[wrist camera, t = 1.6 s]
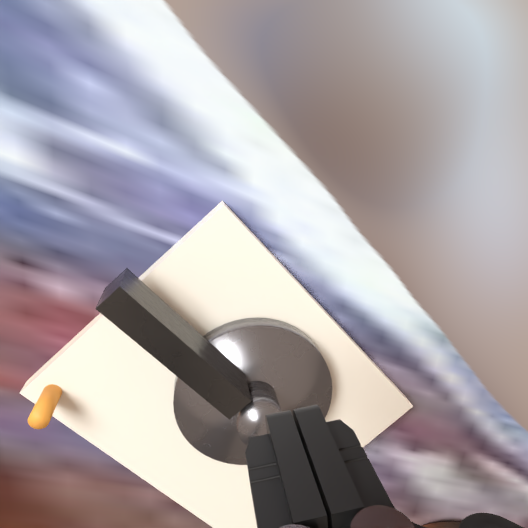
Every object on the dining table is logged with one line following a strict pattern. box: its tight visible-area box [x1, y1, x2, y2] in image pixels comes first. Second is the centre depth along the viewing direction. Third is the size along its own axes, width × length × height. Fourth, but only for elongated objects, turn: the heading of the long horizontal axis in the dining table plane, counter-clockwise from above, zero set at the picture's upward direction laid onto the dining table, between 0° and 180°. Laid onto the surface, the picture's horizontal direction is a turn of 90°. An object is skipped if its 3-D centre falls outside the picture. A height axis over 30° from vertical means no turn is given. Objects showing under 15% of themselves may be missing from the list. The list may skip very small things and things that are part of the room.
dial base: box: [20, 201, 413, 528], centre depth 32 cm, size 22×18×4 cm
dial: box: [96, 268, 332, 465], centre depth 29 cm, size 18×11×4 cm, turn 41°
